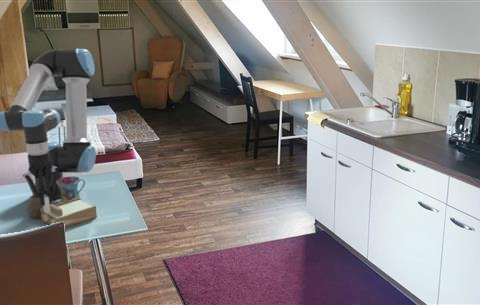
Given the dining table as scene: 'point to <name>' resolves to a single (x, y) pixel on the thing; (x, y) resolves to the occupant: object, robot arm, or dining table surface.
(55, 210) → the lid
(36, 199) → the vase
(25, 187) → the dining table surface
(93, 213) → the box
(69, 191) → the mug
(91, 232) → the dining table surface
